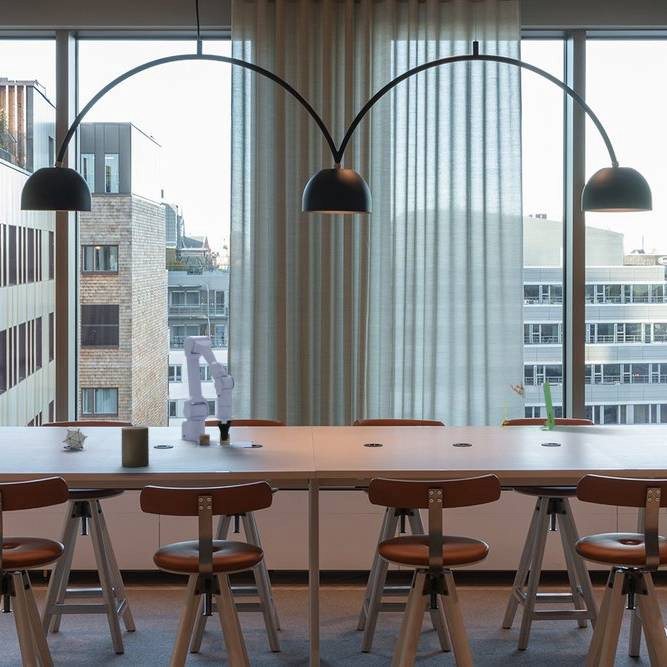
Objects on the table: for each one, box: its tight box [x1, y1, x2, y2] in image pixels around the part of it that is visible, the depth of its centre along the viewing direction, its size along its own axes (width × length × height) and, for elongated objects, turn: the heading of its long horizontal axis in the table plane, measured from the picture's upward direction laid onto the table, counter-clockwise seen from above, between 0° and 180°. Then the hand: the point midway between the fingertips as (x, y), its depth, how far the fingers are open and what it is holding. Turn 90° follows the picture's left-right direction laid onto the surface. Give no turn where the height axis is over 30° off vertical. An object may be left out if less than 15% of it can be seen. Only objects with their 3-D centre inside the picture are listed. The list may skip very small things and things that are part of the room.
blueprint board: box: [196, 441, 253, 449], centre depth 433 cm, size 22×15×1 cm
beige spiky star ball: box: [62, 428, 89, 451], centre depth 423 cm, size 9×8×10 cm
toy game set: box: [497, 380, 555, 432], centre depth 497 cm, size 22×25×24 cm
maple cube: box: [219, 433, 231, 445], centre depth 433 cm, size 4×4×4 cm
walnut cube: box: [199, 433, 211, 446], centre depth 432 cm, size 4×4×4 cm
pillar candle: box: [121, 425, 150, 468], centre depth 383 cm, size 10×10×15 cm
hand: (224, 439), depth 433 cm, fingers open, 7 cm apart
